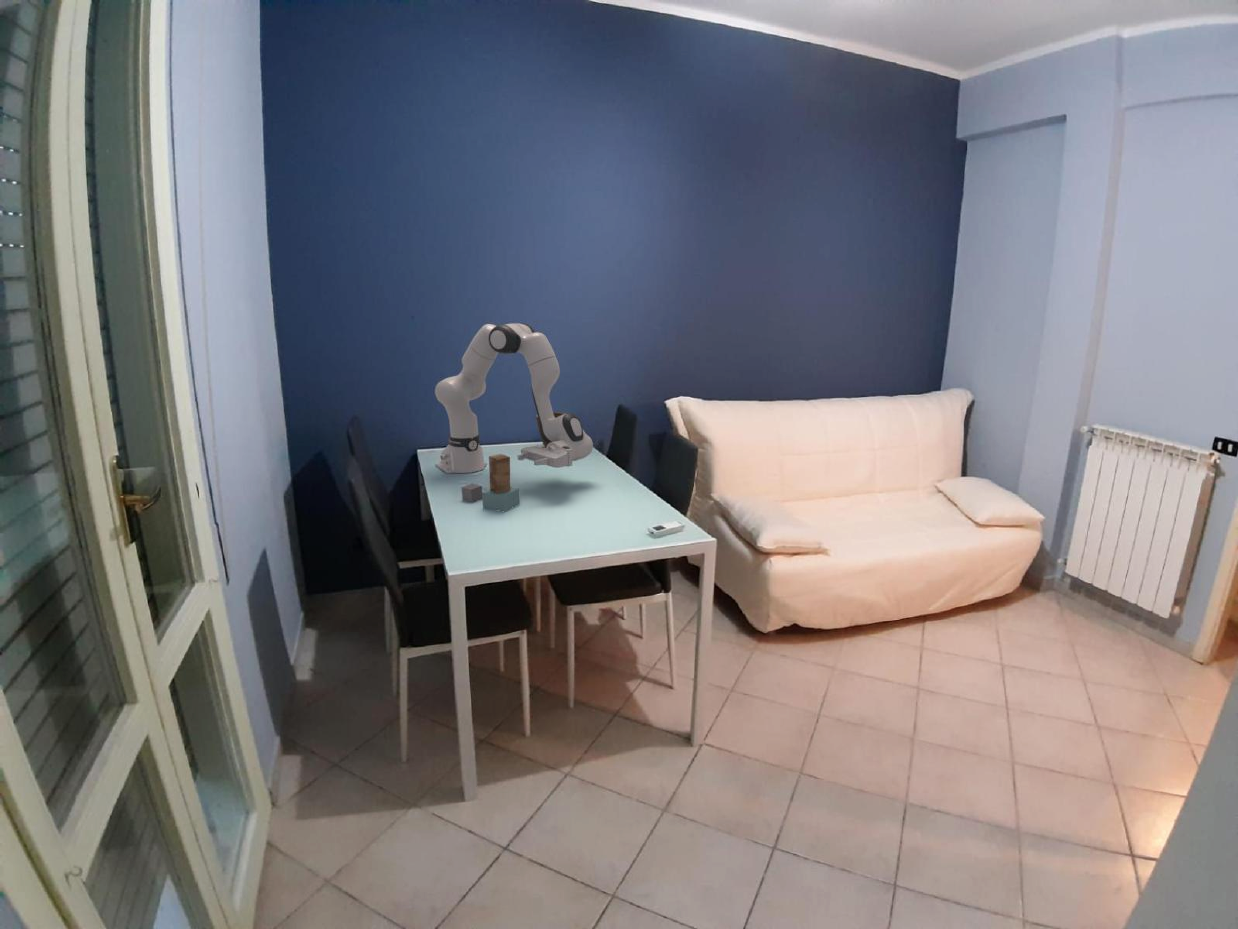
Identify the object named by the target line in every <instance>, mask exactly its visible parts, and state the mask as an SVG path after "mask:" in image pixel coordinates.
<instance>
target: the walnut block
mask: <svg viewBox="0 0 1238 929" xmlns="http://www.w3.org/2000/svg"><path fill="white" fill-rule="evenodd" d="M510 457H511V456H508V455H505V454H503V453H498V454H493V455H489V456H488V462H489V463H488V467H489V468H488V469H489V470H488V471H489V489H490V490H491V491H494V492H496V493H498V494H499V493H503V492H507V491H510V487H511V458H510Z"/></svg>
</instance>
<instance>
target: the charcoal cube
mask: <svg viewBox="0 0 1238 929" xmlns="http://www.w3.org/2000/svg"><path fill="white" fill-rule="evenodd" d="M482 492H483V485H479V484H475V483H469V484H465V485H464V486H461V497H462V498H461V499H462V501H464V500H465V502H467V501H468V502H467V503H471V504H474V503H475V501H476V502H478V501H477V500H479V501H481V500H483V498H482Z"/></svg>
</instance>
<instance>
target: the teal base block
mask: <svg viewBox="0 0 1238 929" xmlns="http://www.w3.org/2000/svg"><path fill="white" fill-rule="evenodd" d="M482 498H483V499H482V509H486V510H491V511H496V510H500V511H499V512H501V511H504V512H503V513H506V512H508V511H510V510H511V508H512V507H513V508H515V507H517V506H518V504H519V503H520V504H521V501H520V500H521V499H520V488H519V487H513V486H510V491H507V492H503V493H499V494H498V493H496V492H494V491H491V490H490V488H488V489H486V490H484V491H482ZM520 504H519V505H520ZM516 505H517V506H516ZM513 508H512V509H513ZM509 509H510V510H509ZM507 510H508V511H507ZM505 511H506V512H505Z"/></svg>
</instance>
